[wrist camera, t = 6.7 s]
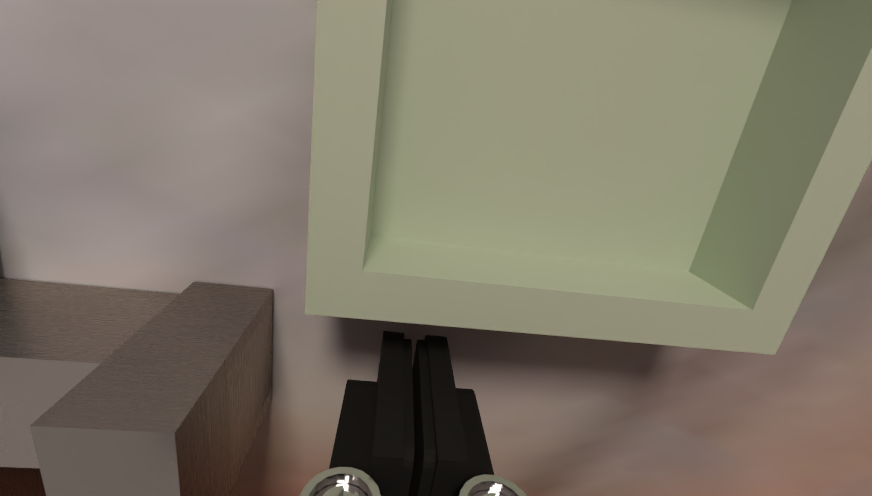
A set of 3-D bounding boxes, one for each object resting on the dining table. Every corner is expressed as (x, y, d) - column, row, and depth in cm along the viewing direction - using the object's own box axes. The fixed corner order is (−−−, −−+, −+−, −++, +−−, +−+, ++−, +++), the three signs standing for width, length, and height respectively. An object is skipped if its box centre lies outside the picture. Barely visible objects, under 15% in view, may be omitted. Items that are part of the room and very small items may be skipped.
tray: (844, -138, 9) (1082, -265, 6) (681, 289, 12) (775, 354, 9) (363, -261, 7) (337, -509, 4) (332, 253, 11) (304, 314, 8)
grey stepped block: (273, 289, 11) (174, 433, 6) (271, 398, 12) (188, 588, 7) (-67, 257, 10) (-486, 399, 5) (-31, 379, 11) (-347, 583, 6)
